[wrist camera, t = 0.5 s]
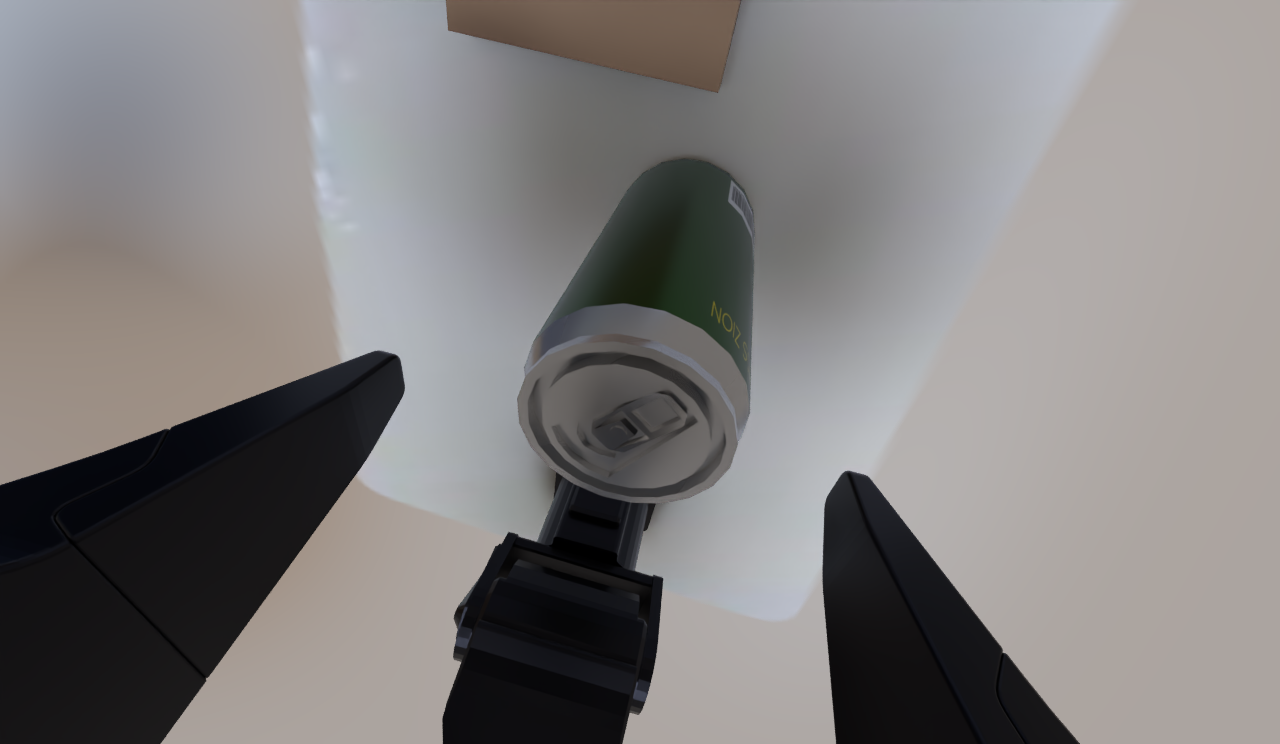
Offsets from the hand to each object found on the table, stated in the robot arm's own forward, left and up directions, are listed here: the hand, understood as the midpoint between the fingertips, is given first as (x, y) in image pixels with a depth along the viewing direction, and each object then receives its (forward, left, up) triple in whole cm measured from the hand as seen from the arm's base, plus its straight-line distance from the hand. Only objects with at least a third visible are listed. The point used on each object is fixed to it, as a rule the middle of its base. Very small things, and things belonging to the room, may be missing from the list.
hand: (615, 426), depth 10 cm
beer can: (-1, 0, -13) cm, 13 cm away
